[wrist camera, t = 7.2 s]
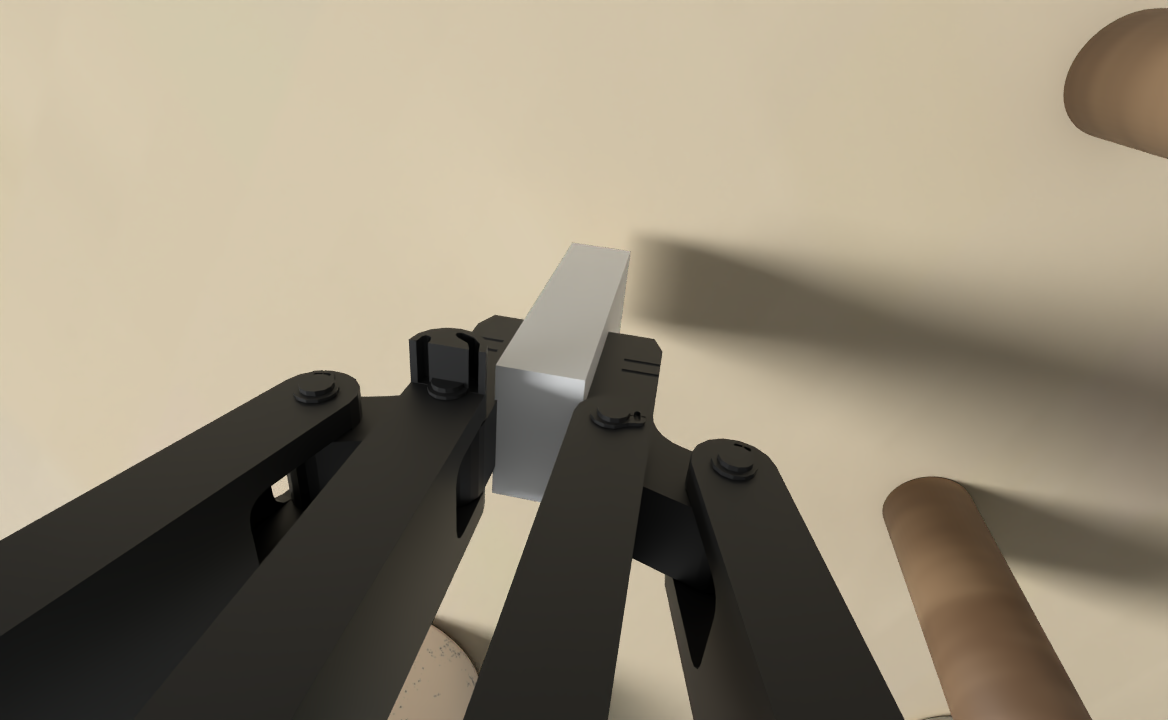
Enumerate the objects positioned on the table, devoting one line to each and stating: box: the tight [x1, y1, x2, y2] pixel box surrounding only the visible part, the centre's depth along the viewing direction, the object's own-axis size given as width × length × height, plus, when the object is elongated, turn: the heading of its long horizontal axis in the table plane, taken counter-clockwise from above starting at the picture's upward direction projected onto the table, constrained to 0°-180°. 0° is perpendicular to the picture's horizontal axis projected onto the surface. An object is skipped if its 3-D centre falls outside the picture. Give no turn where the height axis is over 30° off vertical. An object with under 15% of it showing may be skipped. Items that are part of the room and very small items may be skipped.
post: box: [883, 477, 1092, 720], centre depth 16 cm, size 3×3×9 cm
